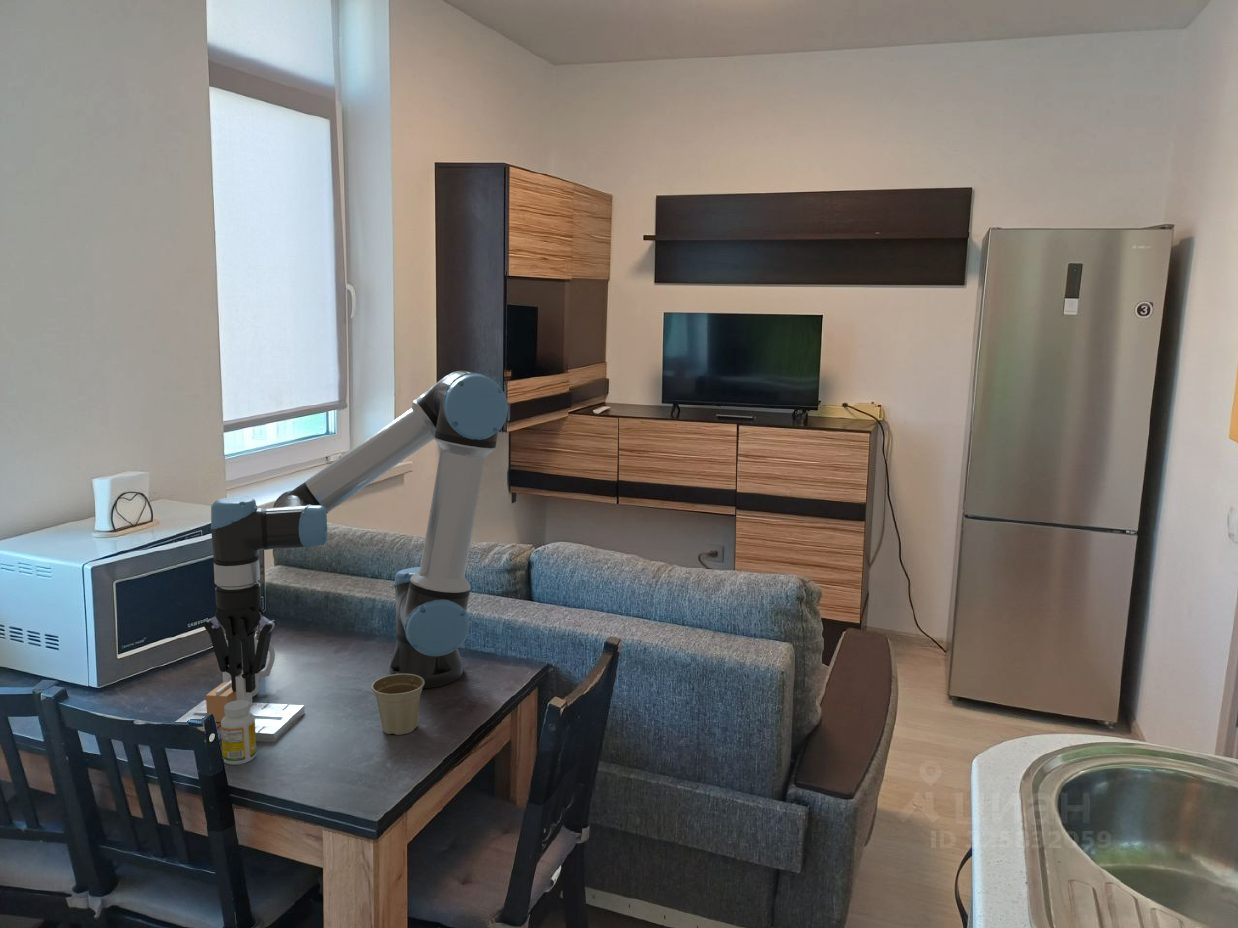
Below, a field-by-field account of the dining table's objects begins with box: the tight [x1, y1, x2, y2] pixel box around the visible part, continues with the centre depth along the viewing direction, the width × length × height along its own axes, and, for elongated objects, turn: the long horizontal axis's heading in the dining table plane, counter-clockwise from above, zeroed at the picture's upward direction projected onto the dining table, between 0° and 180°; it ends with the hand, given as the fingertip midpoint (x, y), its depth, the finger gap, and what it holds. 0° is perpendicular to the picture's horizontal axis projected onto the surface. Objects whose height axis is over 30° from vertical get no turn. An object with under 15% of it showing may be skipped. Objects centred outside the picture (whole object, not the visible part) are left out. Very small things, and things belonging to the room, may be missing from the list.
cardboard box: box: [205, 681, 237, 722], centre depth 168 cm, size 4×6×6 cm, turn 174°
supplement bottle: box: [221, 700, 257, 766], centre depth 155 cm, size 5×5×10 cm
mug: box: [221, 632, 276, 698], centre depth 181 cm, size 10×7×12 cm, turn 121°
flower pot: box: [370, 674, 425, 736], centre depth 166 cm, size 9×9×9 cm
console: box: [174, 699, 305, 743], centre depth 168 cm, size 20×12×2 cm, turn 84°
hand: (245, 707), depth 167 cm, fingers closed
